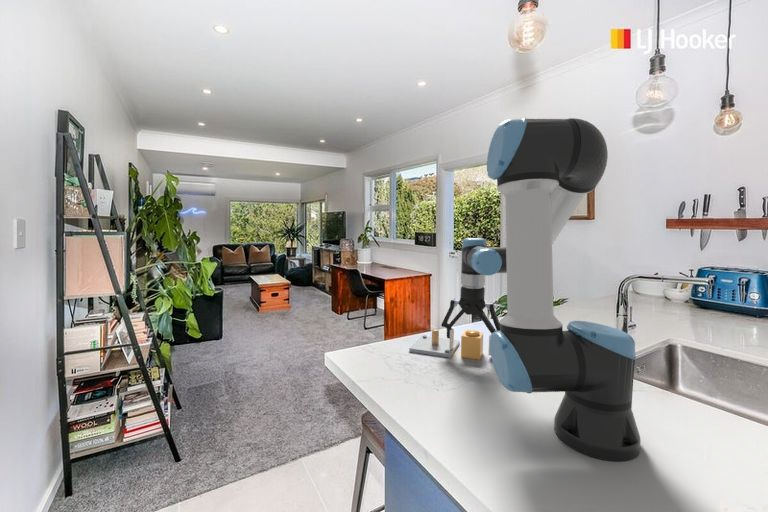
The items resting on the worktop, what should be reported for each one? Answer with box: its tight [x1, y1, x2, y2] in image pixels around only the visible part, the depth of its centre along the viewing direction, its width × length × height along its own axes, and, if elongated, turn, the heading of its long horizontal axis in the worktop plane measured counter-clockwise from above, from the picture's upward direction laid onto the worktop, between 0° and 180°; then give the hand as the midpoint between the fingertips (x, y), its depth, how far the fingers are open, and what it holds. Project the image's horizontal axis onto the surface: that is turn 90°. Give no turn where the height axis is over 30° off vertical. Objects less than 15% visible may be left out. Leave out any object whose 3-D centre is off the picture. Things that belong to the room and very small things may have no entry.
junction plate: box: [408, 328, 461, 359], centre depth 125 cm, size 14×14×6 cm
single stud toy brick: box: [460, 329, 484, 361], centre depth 118 cm, size 6×6×8 cm
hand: (470, 350), depth 118 cm, fingers open, 12 cm apart
